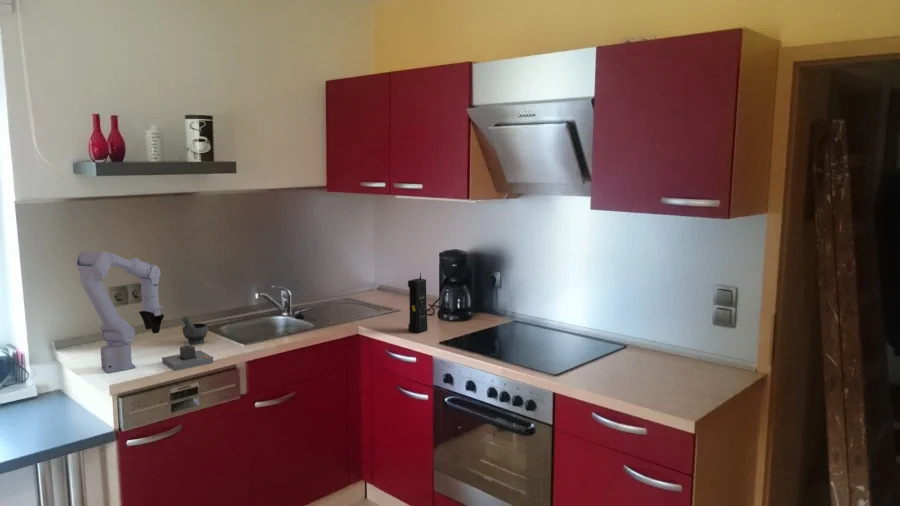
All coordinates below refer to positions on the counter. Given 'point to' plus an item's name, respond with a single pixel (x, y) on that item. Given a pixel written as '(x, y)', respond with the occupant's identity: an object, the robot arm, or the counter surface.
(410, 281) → the portable radio
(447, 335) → the counter surface
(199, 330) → the mortar and pestle
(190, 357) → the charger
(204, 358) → the plate
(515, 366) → the counter surface
